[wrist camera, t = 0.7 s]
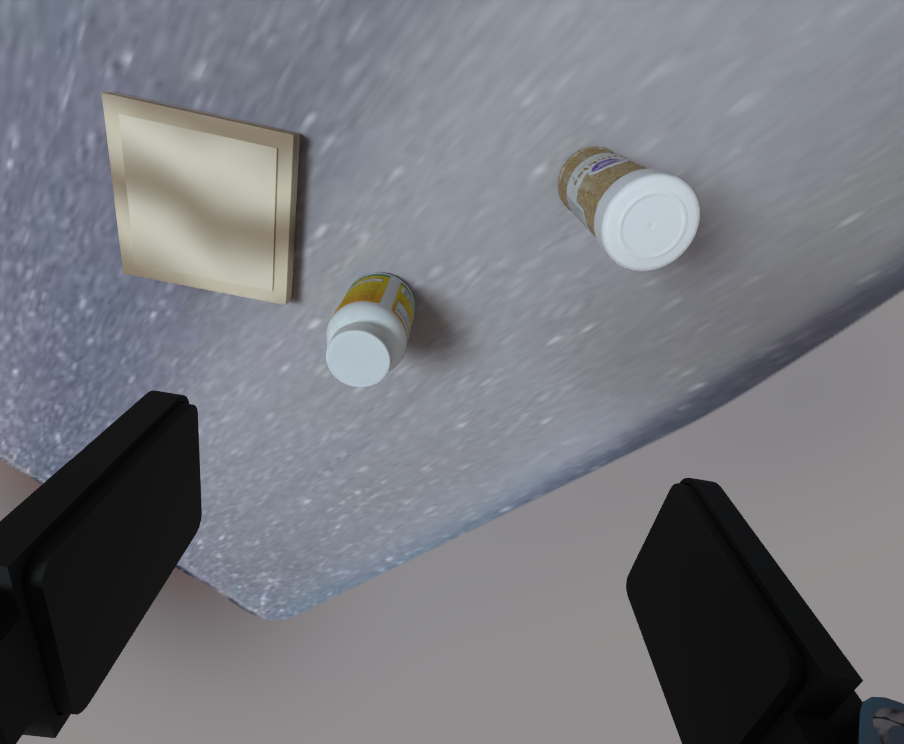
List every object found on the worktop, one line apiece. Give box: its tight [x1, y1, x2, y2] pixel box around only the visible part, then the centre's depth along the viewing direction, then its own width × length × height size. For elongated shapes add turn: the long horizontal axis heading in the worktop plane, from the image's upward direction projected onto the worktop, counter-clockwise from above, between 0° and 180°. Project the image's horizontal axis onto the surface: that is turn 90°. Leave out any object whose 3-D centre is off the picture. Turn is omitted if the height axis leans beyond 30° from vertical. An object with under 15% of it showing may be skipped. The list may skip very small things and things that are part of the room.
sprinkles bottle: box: [558, 147, 700, 271], centre depth 29 cm, size 5×5×13 cm
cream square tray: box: [102, 92, 300, 305], centre depth 35 cm, size 12×12×2 cm
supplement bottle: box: [326, 273, 415, 387], centre depth 35 cm, size 5×5×10 cm
